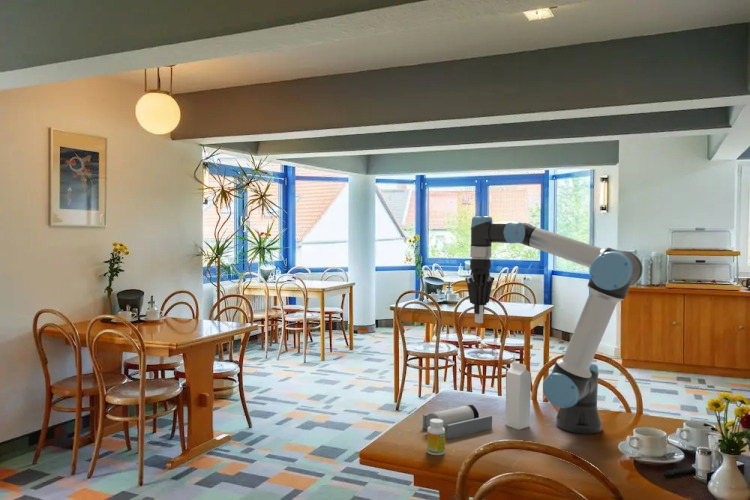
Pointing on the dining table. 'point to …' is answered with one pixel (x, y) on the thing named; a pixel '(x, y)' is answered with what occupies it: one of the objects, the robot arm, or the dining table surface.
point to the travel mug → (453, 415)
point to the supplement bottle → (436, 437)
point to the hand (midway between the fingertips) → (478, 322)
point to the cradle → (465, 426)
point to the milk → (518, 396)
